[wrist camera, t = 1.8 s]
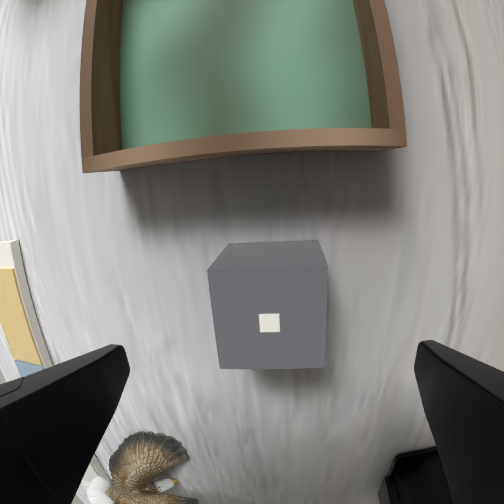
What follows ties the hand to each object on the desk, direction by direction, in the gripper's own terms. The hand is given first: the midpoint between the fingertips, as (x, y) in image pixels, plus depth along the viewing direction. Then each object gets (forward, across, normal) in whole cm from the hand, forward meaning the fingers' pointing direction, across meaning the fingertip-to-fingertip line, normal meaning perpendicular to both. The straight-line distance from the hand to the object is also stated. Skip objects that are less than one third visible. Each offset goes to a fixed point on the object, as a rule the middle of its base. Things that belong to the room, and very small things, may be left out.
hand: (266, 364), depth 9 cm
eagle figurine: (+7, +10, +15) cm, 19 cm away
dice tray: (+6, +1, -12) cm, 14 cm away
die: (+6, 0, 0) cm, 7 cm away
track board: (+6, +17, +9) cm, 20 cm away
